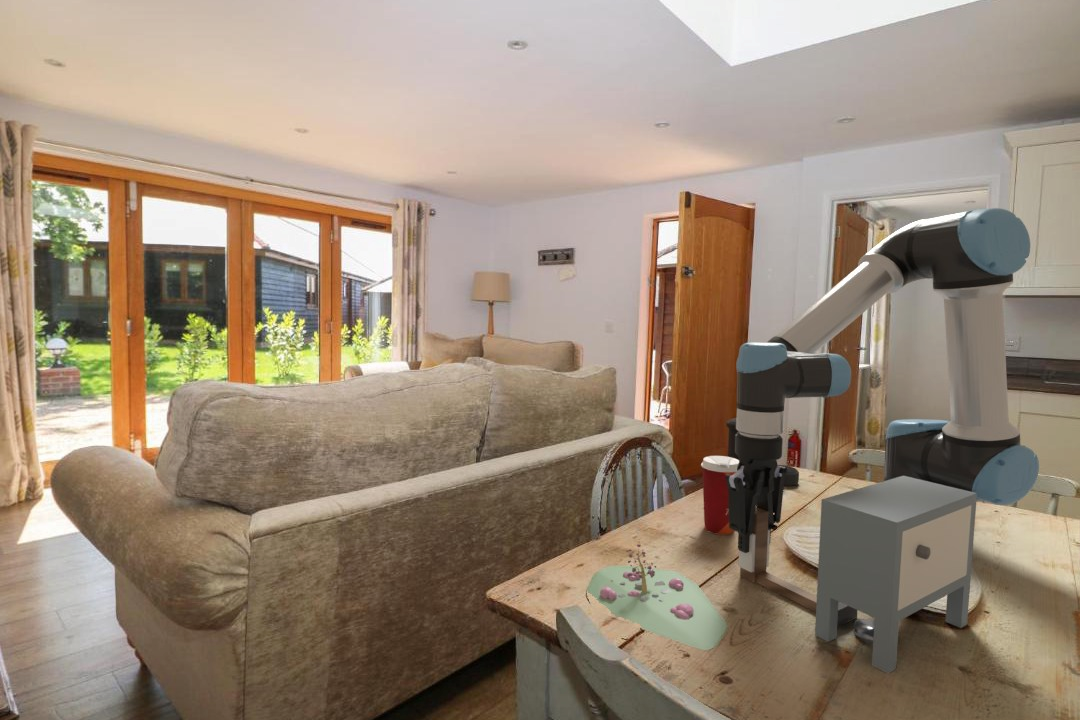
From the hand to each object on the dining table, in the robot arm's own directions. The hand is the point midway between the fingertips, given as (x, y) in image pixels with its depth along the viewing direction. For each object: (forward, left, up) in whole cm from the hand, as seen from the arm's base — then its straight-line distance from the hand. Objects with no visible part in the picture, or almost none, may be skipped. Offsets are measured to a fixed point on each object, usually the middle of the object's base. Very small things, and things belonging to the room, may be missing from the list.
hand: (753, 565), depth 98 cm
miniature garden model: (+20, -2, -3) cm, 20 cm away
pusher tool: (0, +8, -2) cm, 8 cm away
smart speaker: (-52, -32, -2) cm, 61 cm away
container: (-32, -28, -2) cm, 43 cm away
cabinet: (-4, +21, -2) cm, 21 cm away
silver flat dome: (0, +21, -2) cm, 21 cm away
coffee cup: (-12, -18, -2) cm, 22 cm away
